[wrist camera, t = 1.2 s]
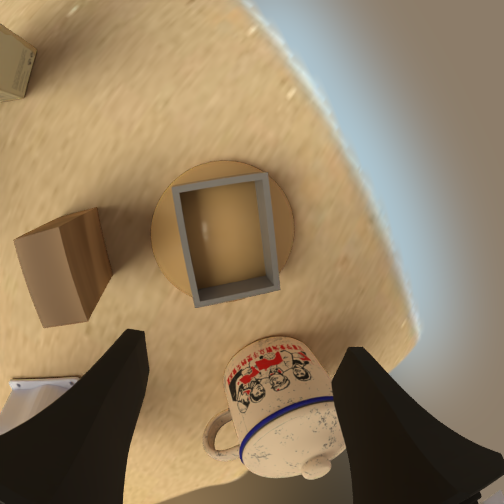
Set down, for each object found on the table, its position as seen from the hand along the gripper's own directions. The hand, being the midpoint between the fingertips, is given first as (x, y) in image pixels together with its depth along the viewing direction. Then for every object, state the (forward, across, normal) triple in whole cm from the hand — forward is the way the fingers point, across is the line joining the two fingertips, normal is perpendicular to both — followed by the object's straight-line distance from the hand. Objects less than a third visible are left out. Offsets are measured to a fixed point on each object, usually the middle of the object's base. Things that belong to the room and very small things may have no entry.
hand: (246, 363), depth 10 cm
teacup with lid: (+10, -3, +14) cm, 17 cm away
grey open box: (+12, +1, 0) cm, 12 cm away
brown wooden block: (+10, +11, +2) cm, 15 cm away
